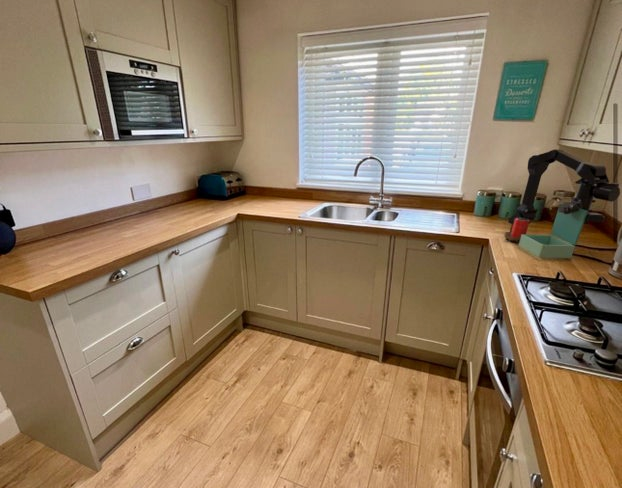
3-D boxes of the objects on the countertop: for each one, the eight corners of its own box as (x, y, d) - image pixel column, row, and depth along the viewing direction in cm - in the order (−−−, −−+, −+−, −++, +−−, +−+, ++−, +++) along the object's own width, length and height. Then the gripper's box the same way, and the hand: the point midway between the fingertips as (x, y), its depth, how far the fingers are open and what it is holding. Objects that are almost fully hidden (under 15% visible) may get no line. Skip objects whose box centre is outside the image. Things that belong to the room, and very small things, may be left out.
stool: (499, 239, 162) (501, 232, 161) (517, 239, 163) (519, 232, 161) (509, 245, 154) (511, 238, 153) (528, 245, 154) (530, 238, 153)
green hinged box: (538, 259, 139) (542, 245, 136) (518, 247, 152) (521, 234, 150) (570, 260, 139) (575, 246, 136) (547, 247, 152) (551, 234, 150)
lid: (586, 211, 131) (588, 211, 131) (560, 202, 144) (562, 202, 144) (574, 245, 136) (576, 245, 136) (550, 233, 150) (552, 234, 150)
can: (508, 233, 160) (512, 217, 156) (520, 233, 160) (524, 217, 157) (515, 237, 154) (520, 220, 151) (528, 237, 154) (532, 220, 151)
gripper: (550, 191, 144) (540, 225, 150) (583, 200, 127) (570, 239, 133) (575, 192, 145) (564, 226, 151) (611, 201, 127) (597, 239, 133)
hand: (572, 232), depth 142 cm, fingers closed
